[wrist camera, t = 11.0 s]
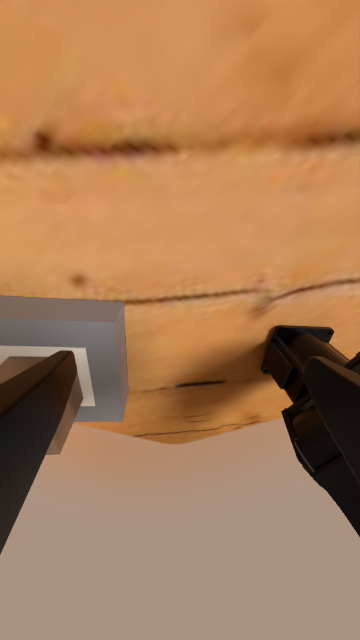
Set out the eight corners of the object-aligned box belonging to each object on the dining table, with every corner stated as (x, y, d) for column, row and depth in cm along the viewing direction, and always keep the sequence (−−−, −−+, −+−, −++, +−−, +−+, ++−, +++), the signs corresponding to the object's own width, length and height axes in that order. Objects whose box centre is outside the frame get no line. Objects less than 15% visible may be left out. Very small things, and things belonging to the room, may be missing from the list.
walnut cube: (73, 356, 17) (42, 408, 12) (83, 398, 19) (59, 454, 15) (9, 356, 16) (-48, 410, 12) (27, 398, 19) (-15, 456, 14)
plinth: (123, 301, 19) (114, 323, 16) (128, 391, 25) (122, 422, 21) (-15, 295, 18) (-60, 316, 14) (24, 390, 24) (-2, 423, 20)
